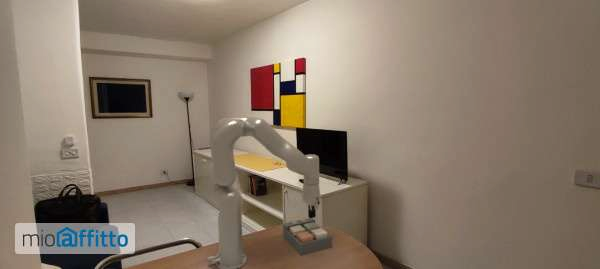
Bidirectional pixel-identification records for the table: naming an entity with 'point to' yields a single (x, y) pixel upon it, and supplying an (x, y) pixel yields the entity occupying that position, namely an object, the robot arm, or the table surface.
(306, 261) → the table surface
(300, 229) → the key cream left
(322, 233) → the key cream right
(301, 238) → the key terracotta
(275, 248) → the table surface
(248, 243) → the table surface
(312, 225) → the key sage
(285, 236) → the keypad
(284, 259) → the table surface
